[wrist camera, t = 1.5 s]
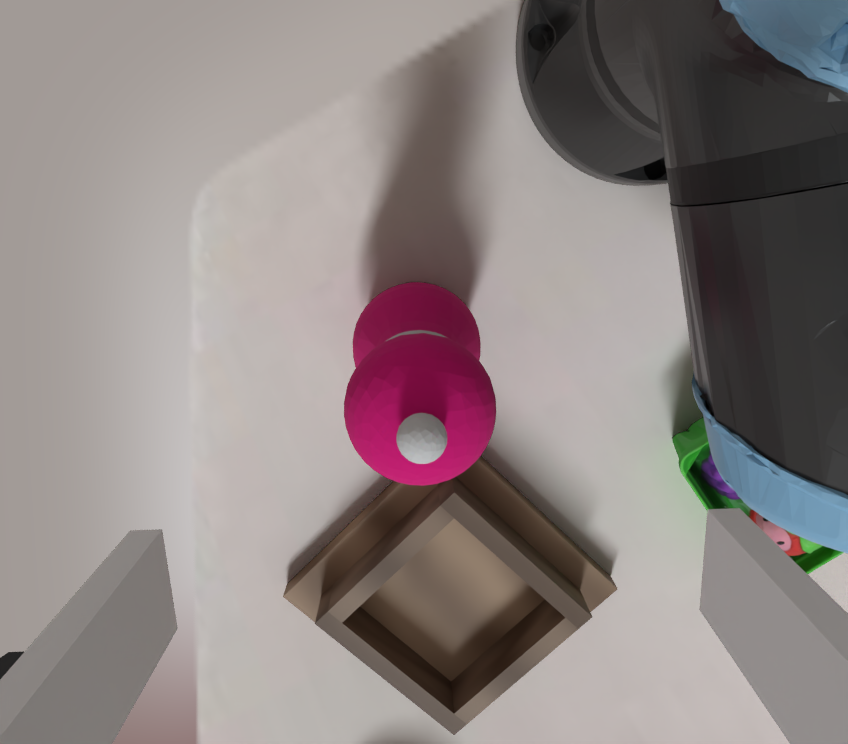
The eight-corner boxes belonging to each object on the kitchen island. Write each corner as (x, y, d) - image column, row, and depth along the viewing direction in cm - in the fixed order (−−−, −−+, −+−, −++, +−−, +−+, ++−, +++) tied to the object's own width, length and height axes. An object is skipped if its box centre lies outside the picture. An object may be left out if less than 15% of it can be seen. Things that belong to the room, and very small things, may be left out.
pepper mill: (354, 382, 42) (308, 537, 23) (362, 269, 40) (319, 332, 21) (466, 391, 42) (515, 551, 23) (479, 279, 41) (543, 351, 21)
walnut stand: (449, 427, 43) (454, 452, 39) (610, 576, 46) (632, 615, 42) (287, 584, 46) (274, 624, 41) (449, 715, 49) (453, 766, 44)
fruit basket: (643, 433, 43) (722, 511, 32) (761, 356, 42) (883, 410, 31) (727, 557, 46) (827, 668, 35) (840, 487, 45) (980, 580, 34)
